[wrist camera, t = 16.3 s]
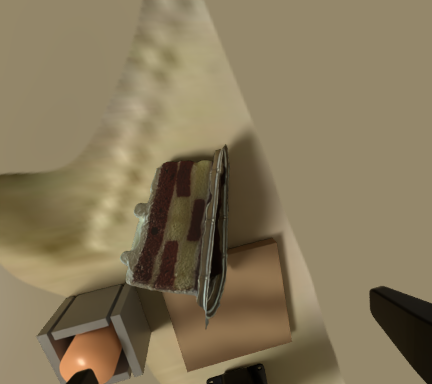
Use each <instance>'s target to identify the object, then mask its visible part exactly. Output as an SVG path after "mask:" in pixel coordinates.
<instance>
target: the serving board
mask: <svg viewBox="0 0 432 384" xmlns="http://www.w3.org/2000/svg"><path fill="white" fill-rule="evenodd" d="M226 253H227V254H228V257H227V272H226V273H227V274H226V283H225V286H224V292H223V294H222V298H221V299H220V301H221V302H220V304H221V306H219V307H218V308H217V310H216V315H215V316H213V317H211V318H210V319H209V324H208V325H207V329H205V326H206V325H205V319H206V314H205V310H204V309H203V308H202V307H200V306H199V305H198V304H197V297H196V296H194V295H186V294H175V293H169V292H162V293H163V296H164V300H165V303H166V306H167V309H168V312H169V315H170V318H171V322H172V325H173V328H174V331H175V334H176V337H177V340H178V344H179V347H180V350H181V353H182V356H183V359H184V362H185V365H186V369H187V372H189V371H193V370H196V369H200V368H203V367H206V366H210V365H213V364H217V363H220V362H224V361H227V360H231V359H234V358H237V357H241V356H244V355H248V354H251V353H255V352H258V351H262V350H265V349H268V348H272V347H275V346H279V345H282V344H286V343H289V342H292V339H291V332H290V326H289V319H288V313H287V306H286V300H285V293H284V287H283V280H282V274H281V267H280V261H279V254H278V248H277V242H276V241H275V240H274V239H273V238H270V239H266V240H262V241H258V242H254V243H250V244H247V245H243V246H239V247H235V248H231V249H227V252H226Z"/></svg>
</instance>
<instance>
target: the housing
mask: <svg viewBox="0 0 432 384" xmlns="http://www.w3.org/2000/svg"><path fill="white" fill-rule="evenodd" d="M111 320H112V323H113V325H114V328H115V330H116V333H117V335H118V338H119V340H120V343H121V345H122V350H121V353H120V356H119V359H118V363H117V366H116V369H115V372H114V374H113V376H112V377H111V379H110V380H109V381H107V382H106V383H104V384H112V383H116V382H119V381H123V380H126V379H130V376H131V373H132V372H133V375H134V377H137V376H140V375H143V373H144V367H145V362H146V357H147V352H148V347H149V341H150V336H151V331H150V328H149V325H148V323H147V320H146V317H145V314H144V311H143V308H142V306H141V303H140V300H139V297H138V294H137V291H136V289H135V286H132V285H129V284H127V283H125V285H124V287H122V284H120V285H116V286H112V287H108V288H104V289H100V290H96V291H92V292H88V293H85V294H81V295H78V296H77V297H76V299H75V297H74V296H73V297H69V298H66V299H65V300H64V302H63V303H62V304H61V306H60V307H59V308H58V309H57V311H56V312H55V313H54V315H53V316H52V317H51V318H50V320H49V321H48V322H47V324H46V325H45V326H44V327H43V329H42V330H41V331H40V333H39V334H38V335H37V339H38V341H39V343H40V345H41V347H42V349H43V351H44V352H45V354H46V356H47V358H48V360H49V362H50V364H51V366H52V368H53V370H54V372H55V374H56V375H57V377H58V379H59V381H60V383H61V384H66V383H67V381H65V380H64V378H63V377H62V376H61V373H60V368H59V367H60V362H61V360H62V358H63V356H64V355H65V353H66V351H67V349H68V348H69V346H70V344H71V342H72V341H73V339H74V337H75V336H76V335H77V334H80V333H84V332H88V331H91V330H95V329H99V328H103V327H106V326H109V324H110V321H111Z"/></svg>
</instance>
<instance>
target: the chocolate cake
mask: <svg viewBox="0 0 432 384" xmlns="http://www.w3.org/2000/svg"><path fill="white" fill-rule="evenodd" d="M228 159H229V157H228V148H227V145H226V144H225V146H224V147H223V148H222V149H219V150H216V152H215V154H214V161H209V160H207V161H206V160H202V161H200V162H197V163H195V162H193V161H179V162H166V163H164V164H163V165H162V166H161V167H159V168H157V169H156V173H155V176H154V179H153V182H152V185H151V189H150V190H151V195H150V198H149V201H148V203H146V204H144V203H139V204H137V205H136V207H135V209H134V215H135V216H136V217H137V218H139V220H140V221H139V223H138V225H137V229H136V234H135V237H134V241H133V245H132V249H131V251H125V252H123V253H122V254H121V256H120V260H121V261H122V263H124V264H125V265H126V266H128V271H127V274H126V282H127V284H129V285H132V286H137V287H140V288H145V289H149V290H151V291H154V290H157V291H160V292H169V293H175V294H186V295H194V296H196V297H197V304H198V305H199V306H200V307H202V308H203V309H204V310H205V314H206V319H205V325H206V326H205V329H207V325H208V324H209V319H210V318H211V317H213V316H215V315H216V310H217V308H218V307H219V306H221V304H220V302H221V301H220V299H221V298H222V294H223V292H224V286H225V283H226V274H227V273H226V272H227V257H228V254H227V253H226V252H227V250H226V249H227V248H228V247H227V230H228V228H227V225H228V201H227V199H228V197H227V196H228V194H227V193H228V180H229V168H230V166H229V163H228V162H229V161H228Z"/></svg>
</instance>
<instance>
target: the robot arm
mask: <svg viewBox="0 0 432 384" xmlns="http://www.w3.org/2000/svg"><path fill="white" fill-rule="evenodd" d="M370 310H371V313H372V315H373V317H374V318H375V320H376V321H377V322H378V324H379V325H380V326H381V327H382V329H383V330H384V331H385V333H386V334H387V335H388V336H389V338H390V339H391V340H392V342H393V343H394V344H395V346H396V347H397V348H398V350H399V351H400V352H401V353H402V355H403V356H404V357H405V358H406V360H407V361H408V362H409V364H410V365H411V366H412V367H413V369H414V370H415V371H416V372H417V373H418V374H419V375H420V376H421V378H422V379H423V380H424V381H425V382H426V383H427V384H432V303H429V302H427V301H423V300H421V299H418V298H415V297H413V296H410V295H407V294H404V293H402V292H399V291H396V290H393V289H390V288H388V287H385V286H380V287H376V288H373V289H371V290H370ZM258 367H261V369H258ZM210 381H213V383H209V382H210ZM206 383H207V384H267V379H266V374H265V369H264V366H263V364H256V365H253V366H250V367H246V368H241V369H238V370H235V371H231V372H228V373H224V374H222V375H219V376H216V377H212V378H209V379H208V380H207V381H206ZM66 384H99V382H98V380H97V378H96V376H95V373H94V371H93V370H92V369H91V368H88V369H85V370H81V371H78V372H76V373H75V374H74V375H73V376H72V377H71V378H70V379H69V380H68V381H67V383H66Z"/></svg>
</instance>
